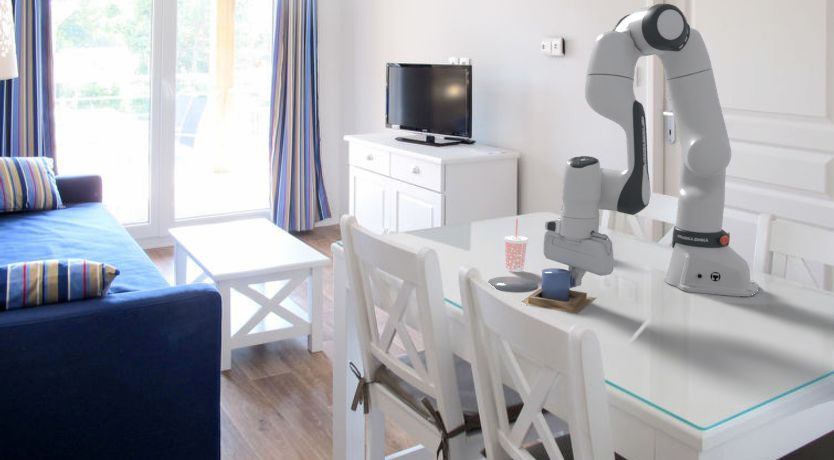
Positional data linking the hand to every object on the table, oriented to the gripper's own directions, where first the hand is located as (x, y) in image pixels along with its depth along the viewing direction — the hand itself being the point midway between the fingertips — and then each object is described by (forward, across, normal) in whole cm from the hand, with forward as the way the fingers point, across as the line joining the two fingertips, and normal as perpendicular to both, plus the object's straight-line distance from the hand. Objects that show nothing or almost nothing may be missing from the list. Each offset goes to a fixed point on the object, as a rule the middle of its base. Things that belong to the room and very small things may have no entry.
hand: (576, 285), depth 207 cm
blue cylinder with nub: (+3, +1, +4) cm, 5 cm away
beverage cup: (+4, +27, -3) cm, 27 cm away
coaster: (+3, +16, +6) cm, 17 cm away
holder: (+3, 0, +6) cm, 7 cm away
